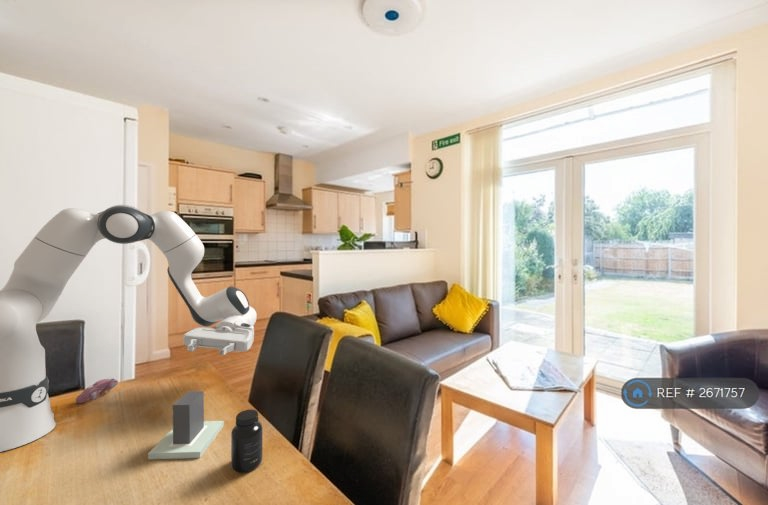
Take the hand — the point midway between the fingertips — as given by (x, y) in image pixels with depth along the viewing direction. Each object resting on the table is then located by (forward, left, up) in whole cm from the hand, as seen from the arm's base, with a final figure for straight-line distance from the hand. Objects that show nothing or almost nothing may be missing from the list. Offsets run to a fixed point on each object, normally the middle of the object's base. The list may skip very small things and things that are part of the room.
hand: (205, 350), depth 93 cm
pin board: (+1, -12, -20) cm, 23 cm away
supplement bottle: (+19, -21, -20) cm, 35 cm away
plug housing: (+1, -12, -18) cm, 22 cm away
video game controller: (-41, +13, -20) cm, 47 cm away
